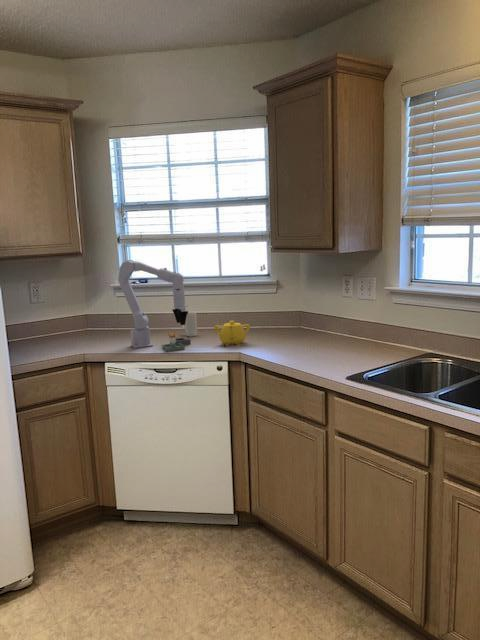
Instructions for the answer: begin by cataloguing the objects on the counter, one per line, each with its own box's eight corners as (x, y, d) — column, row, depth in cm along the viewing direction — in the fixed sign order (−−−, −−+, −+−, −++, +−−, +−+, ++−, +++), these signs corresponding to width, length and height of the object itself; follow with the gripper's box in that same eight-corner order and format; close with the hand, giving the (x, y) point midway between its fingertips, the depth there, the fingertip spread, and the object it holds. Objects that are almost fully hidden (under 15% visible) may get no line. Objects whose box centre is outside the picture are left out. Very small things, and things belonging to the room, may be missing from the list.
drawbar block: (173, 346, 274) (173, 341, 274) (170, 343, 281) (169, 339, 280) (190, 344, 277) (190, 339, 277) (186, 341, 284) (186, 337, 283)
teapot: (212, 345, 274) (211, 322, 271) (233, 339, 283) (231, 317, 281) (231, 348, 264) (230, 324, 262) (252, 343, 274) (251, 320, 272)
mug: (199, 334, 301) (198, 312, 299) (193, 336, 295) (192, 315, 293) (184, 333, 306) (183, 312, 304) (178, 335, 300) (176, 314, 298)
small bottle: (176, 348, 268) (175, 334, 267) (170, 348, 267) (169, 334, 266) (175, 346, 271) (174, 333, 270) (169, 347, 270) (168, 333, 269)
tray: (166, 351, 263) (166, 348, 263) (162, 348, 272) (162, 344, 271) (184, 349, 267) (184, 346, 266) (179, 346, 275) (179, 342, 275)
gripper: (190, 298, 270) (192, 325, 273) (182, 295, 284) (184, 320, 286) (176, 299, 268) (178, 326, 270) (169, 296, 281) (171, 322, 284)
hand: (180, 323), depth 278 cm, fingers open, 7 cm apart
